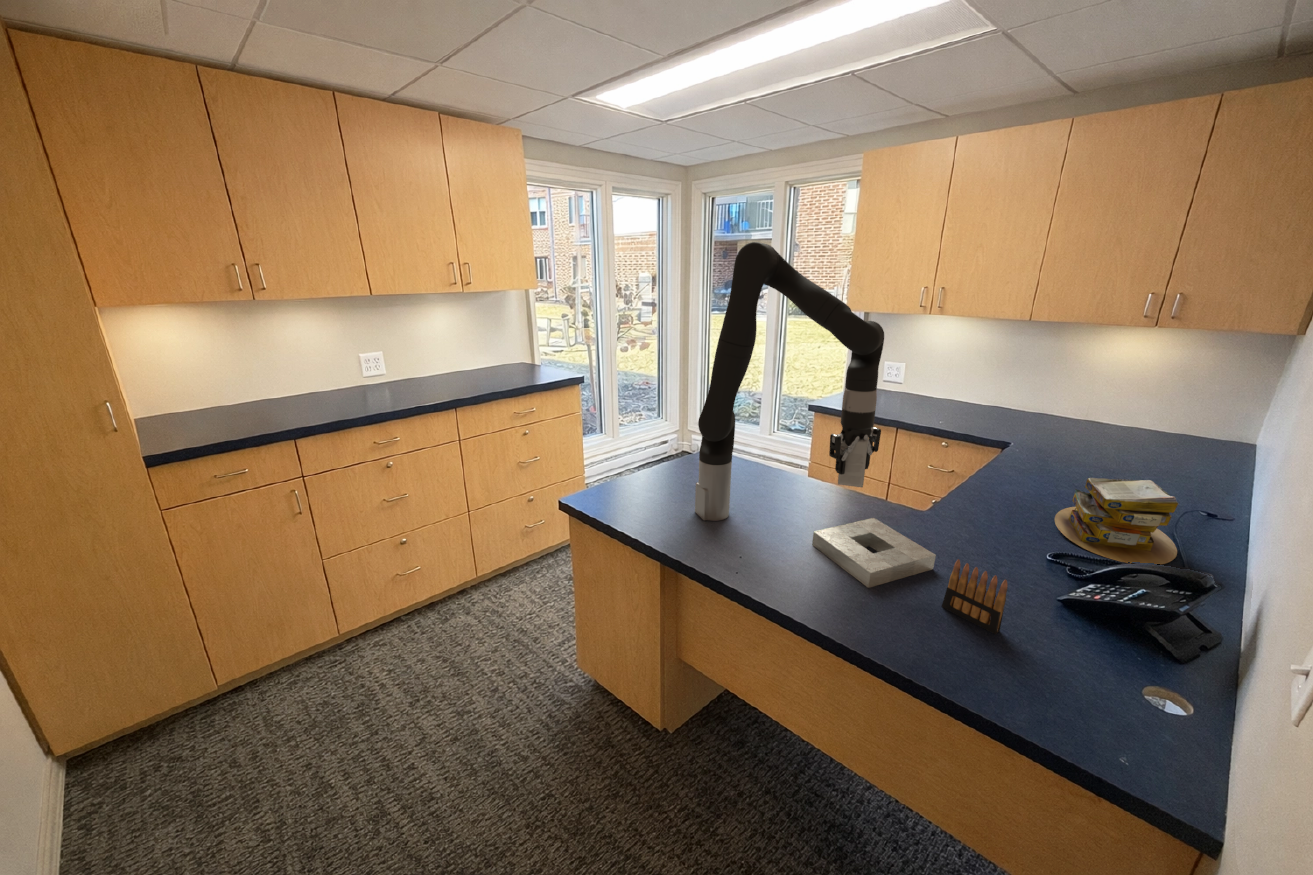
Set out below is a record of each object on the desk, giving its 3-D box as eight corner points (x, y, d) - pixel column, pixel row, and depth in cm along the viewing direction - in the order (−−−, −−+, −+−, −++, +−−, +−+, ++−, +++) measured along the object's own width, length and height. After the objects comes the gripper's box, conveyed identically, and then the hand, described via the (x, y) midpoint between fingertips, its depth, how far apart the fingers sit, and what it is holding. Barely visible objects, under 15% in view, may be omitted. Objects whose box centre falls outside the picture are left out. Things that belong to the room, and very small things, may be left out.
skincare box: (863, 481, 129) (869, 437, 125) (862, 488, 125) (868, 442, 122) (838, 478, 131) (842, 434, 128) (836, 484, 128) (841, 439, 124)
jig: (868, 587, 116) (870, 572, 115) (812, 544, 134) (813, 531, 132) (932, 569, 123) (935, 554, 122) (871, 530, 141) (873, 517, 139)
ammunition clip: (941, 606, 110) (951, 558, 106) (945, 603, 111) (956, 555, 107) (995, 634, 102) (1009, 583, 98) (999, 630, 103) (1013, 580, 99)
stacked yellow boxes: (1189, 576, 120) (1215, 513, 115) (1059, 548, 132) (1077, 489, 126) (1157, 531, 140) (1178, 475, 135) (1047, 510, 152) (1062, 458, 147)
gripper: (846, 414, 116) (839, 481, 121) (893, 406, 121) (885, 471, 127) (824, 407, 123) (818, 470, 128) (870, 399, 128) (863, 461, 133)
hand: (852, 470), depth 127 cm, fingers closed on skincare box, 7 cm apart
